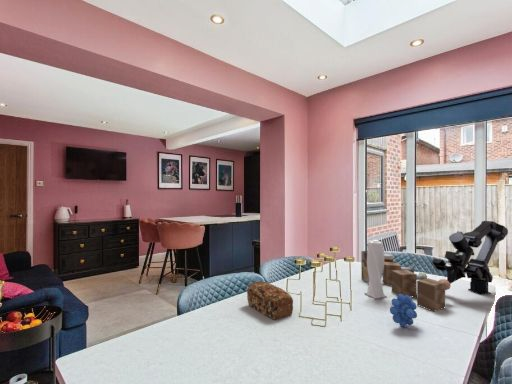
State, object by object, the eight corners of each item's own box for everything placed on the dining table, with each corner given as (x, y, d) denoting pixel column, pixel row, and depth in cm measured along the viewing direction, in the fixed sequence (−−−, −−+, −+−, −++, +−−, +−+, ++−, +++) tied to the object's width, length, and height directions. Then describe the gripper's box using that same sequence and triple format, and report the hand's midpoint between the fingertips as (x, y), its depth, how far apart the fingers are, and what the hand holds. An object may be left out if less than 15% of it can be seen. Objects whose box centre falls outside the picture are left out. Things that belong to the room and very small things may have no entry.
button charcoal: (412, 273, 147) (412, 264, 147) (414, 275, 142) (414, 267, 142) (395, 272, 149) (395, 263, 149) (396, 274, 145) (396, 265, 145)
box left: (398, 282, 150) (398, 262, 150) (401, 286, 143) (401, 266, 143) (382, 280, 153) (382, 261, 153) (384, 284, 146) (384, 264, 146)
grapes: (400, 335, 93) (400, 299, 94) (385, 325, 100) (385, 292, 100) (426, 330, 97) (426, 296, 97) (410, 321, 103) (410, 289, 103)
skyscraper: (389, 298, 126) (389, 237, 126) (376, 301, 123) (376, 238, 124) (375, 292, 134) (375, 235, 134) (362, 294, 131) (362, 235, 131)
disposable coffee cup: (397, 276, 160) (397, 256, 160) (380, 276, 160) (380, 256, 160) (389, 272, 169) (389, 252, 169) (373, 272, 169) (373, 252, 169)
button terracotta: (439, 287, 124) (439, 277, 124) (450, 291, 120) (450, 280, 120) (428, 290, 121) (428, 280, 121) (439, 294, 116) (439, 283, 116)
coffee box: (381, 283, 148) (381, 253, 148) (372, 284, 146) (372, 254, 146) (370, 278, 157) (370, 250, 157) (360, 279, 155) (360, 250, 155)
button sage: (420, 280, 135) (420, 270, 135) (427, 283, 130) (427, 273, 130) (404, 280, 134) (404, 271, 134) (410, 283, 130) (410, 274, 130)
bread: (246, 305, 118) (246, 282, 118) (266, 300, 124) (266, 278, 124) (273, 322, 103) (273, 295, 103) (294, 315, 109) (294, 289, 109)
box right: (428, 301, 122) (428, 278, 123) (445, 307, 116) (445, 282, 116) (417, 305, 119) (417, 280, 119) (433, 311, 113) (433, 285, 113)
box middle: (407, 291, 136) (407, 270, 136) (416, 296, 129) (416, 274, 129) (391, 291, 135) (391, 270, 135) (400, 297, 128) (400, 274, 128)
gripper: (434, 241, 134) (420, 266, 129) (479, 248, 117) (464, 277, 112) (443, 256, 138) (430, 281, 133) (488, 265, 121) (475, 294, 116)
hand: (448, 283), depth 123 cm, fingers closed
